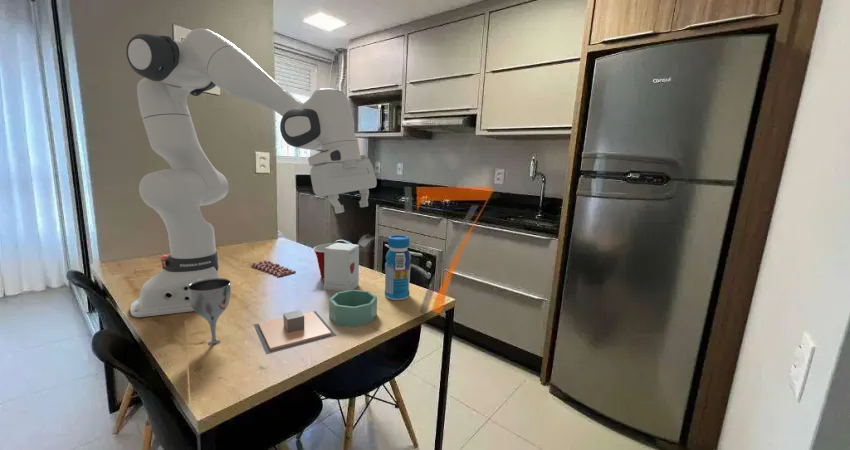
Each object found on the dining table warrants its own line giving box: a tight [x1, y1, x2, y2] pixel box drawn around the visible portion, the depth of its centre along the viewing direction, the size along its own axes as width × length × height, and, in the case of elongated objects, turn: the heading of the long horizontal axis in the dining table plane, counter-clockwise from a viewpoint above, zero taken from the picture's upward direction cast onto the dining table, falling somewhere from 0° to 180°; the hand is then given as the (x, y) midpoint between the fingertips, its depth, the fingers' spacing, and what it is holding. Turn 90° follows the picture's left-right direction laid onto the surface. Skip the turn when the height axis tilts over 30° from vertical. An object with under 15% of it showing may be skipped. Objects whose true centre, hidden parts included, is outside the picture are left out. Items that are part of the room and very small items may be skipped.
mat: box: [253, 310, 337, 355], centre depth 86 cm, size 16×16×1 cm
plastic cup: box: [312, 242, 336, 280], centre depth 126 cm, size 11×11×12 cm
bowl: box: [328, 289, 378, 328], centre depth 95 cm, size 12×12×6 cm
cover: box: [257, 309, 331, 351], centre depth 85 cm, size 14×14×4 cm
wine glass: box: [188, 277, 232, 347], centre depth 77 cm, size 8×8×15 cm
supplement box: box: [323, 242, 360, 292], centre depth 116 cm, size 9×9×15 cm
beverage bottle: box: [384, 234, 412, 301], centre depth 111 cm, size 8×8×20 cm
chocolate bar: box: [251, 260, 296, 278], centre depth 132 cm, size 7×19×2 cm, turn 55°
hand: (352, 209), depth 87 cm, fingers open, 8 cm apart
